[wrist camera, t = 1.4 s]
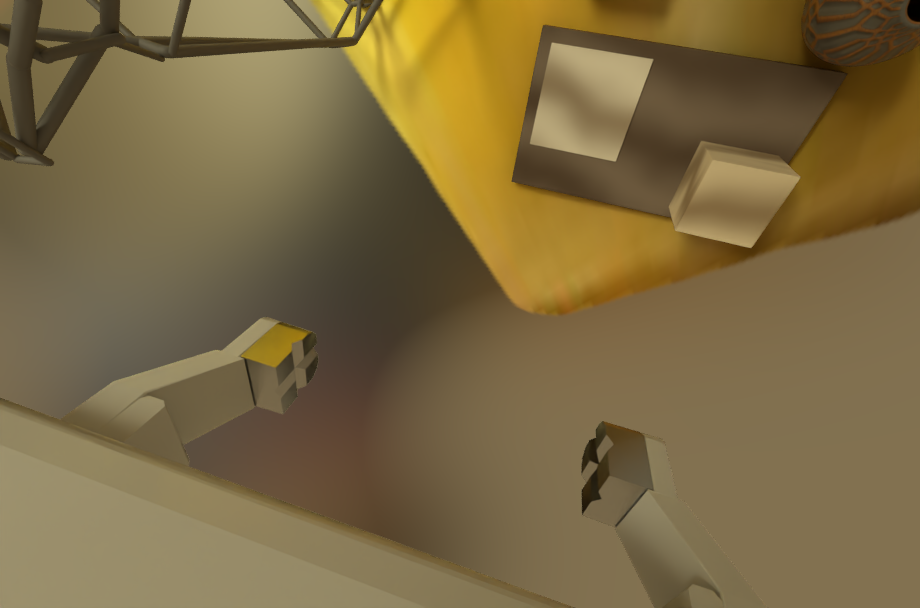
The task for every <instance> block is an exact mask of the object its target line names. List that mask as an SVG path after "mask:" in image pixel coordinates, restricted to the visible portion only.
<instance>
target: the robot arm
mask: <svg viewBox="0 0 920 608" xmlns="http://www.w3.org/2000/svg"><path fill="white" fill-rule="evenodd" d="M316 344H317V338H316V334H315V333H313V332H311V331H308V330H304V329H302V328H299V327H296V326H293V325H290V324H287V323H284V322H280V321H277V320H274V319H271V318H268V317H264V318H261V319H259V320H258V321H257V322H256V323H254V324H253V325H252V326H251V327H250V328H249V329H247V330H246V331H245V332H244V333H243V334H241V335H240V336H239V337H238V338H237V339H235V340H234V341H233V342H232V343H231V344H229V345H228V346H227V347H226V348H225V349H224V350H222V351H219V350H214V351H211V352H207V353H204V354H201V355H198V356H195V357H191V358H188V359H185V360H181V361H178V362H175V363H172V364H168V365H165V366H162V367H159V368H155V369H152V370H149V371H146V372H143V373H139V374H136V375H133V376H130V377H127V378H123V379H120V380H117V381H113V382H112V383H111V384H109V385H108V386H106V387H105V388H104V389H102V390H101V391H99V392H98V393H97V394H95V395H94V396H92V397H91V398H90V399H88V400H87V401H85V402H84V403H83V404H81V405H80V406H78V407H77V408H75V409H74V410H73V411H71V412H70V413H68V414H67V415H66V416H64V417H63V418H61V419H57V418H54V417H51V416H49V415H46V414H43V413H41V412H38V411H35V410H33V409H30V408H27V407H24V406H22V405H19V404H16V403H13V402H11V401H8V400H5V399H3V398H0V608H574V607H571V606H568V605H566V604H563V603H560V602H558V601H555V600H552V599H550V598H547V597H544V596H541V595H538V594H536V593H533V592H530V591H528V590H525V589H522V588H520V587H517V586H514V585H511V584H508V583H506V582H503V581H500V580H498V579H495V578H492V577H490V576H487V575H484V574H481V573H479V572H476V571H473V570H470V569H468V568H465V567H462V566H460V565H457V564H454V563H451V562H448V561H446V560H443V559H440V558H437V557H435V556H432V555H430V554H427V553H424V552H421V551H419V550H416V549H413V548H410V547H408V546H405V545H402V544H399V543H397V542H394V541H391V540H389V539H386V538H383V537H380V536H378V535H375V534H372V533H369V532H367V531H364V530H361V529H358V528H356V527H353V526H350V525H347V524H344V523H342V522H339V521H336V520H334V519H331V518H328V517H325V516H323V515H320V514H317V513H314V512H312V511H309V510H306V509H303V508H301V507H298V506H295V505H293V504H290V503H287V502H284V501H282V500H279V499H276V498H274V497H271V496H268V495H265V494H263V493H260V492H257V491H254V490H252V489H249V488H246V487H243V486H241V485H238V484H235V483H232V482H230V481H227V480H224V479H221V478H219V477H216V476H213V475H211V474H208V473H205V472H202V471H199V470H197V469H194V468H191V467H189V466H188V465H189V457H188V455H187V453H186V450H185V448H184V446H183V445H184V444H186V443H188V442H190V441H192V440H194V439H196V438H198V437H200V436H202V435H203V434H205V433H207V432H209V431H211V430H213V429H214V428H217V427H219V426H220V425H222V424H224V423H226V422H228V421H230V420H232V419H234V418H236V417H237V416H239V415H241V414H243V413H245V412H247V411H249V410H250V409H253V408H254V407H255V406H258V407H261V408H264V409H267V410H271V411H274V412H277V413H280V414H284V413H285V411H286V410H287V409H288V408H289V406H290V405H291V404H292V403H293V401H294V400H295V399H296V398H297V397H298V396H297V389H299V388H301V387H304V386H306V385H307V384H308V383H309V382H310V380H311V379H312V378H313V376H314V373H315V371H316V369H317V365H318V354H317V353H316V351H315V350H314V348H313V347H314V346H315V345H316ZM581 467H582V468H581V469H582V471H581V473H582V476H583V478H584V480H585V481H586V484H585V486H584V487H583V489H582V515H583V516H585V517H588V518H591V519H594V520H596V521H599V522H602V523H605V524H608V525H610V526H613V527H616V528H615V530H616V532H617V534H618V536H619V538H620V540H621V542H622V544H623V546H624V548H625V550H626V552H627V554H628V556H629V558H630V560H631V562H632V564H633V566H634V568H635V570H636V572H637V574H638V576H639V578H640V580H641V582H642V584H643V586H644V588H645V590H646V592H647V594H648V596H649V598H650V600H651V602H652V604H653V606H654V608H768V607H767V606H766V605H765V604H764V602H763V601H762V600H761V599H760V597H759V596H758V595H757V593H756V592H755V591H754V590H753V588H752V587H751V586H750V585H749V583H748V582H747V581H746V579H745V578H744V577H743V576H742V574H741V573H740V572H739V571H738V569H737V568H736V567H735V565H734V564H733V563H732V562H731V560H730V559H729V558H728V556H727V555H726V554H725V553H724V551H723V550H722V549H721V548H720V546H719V545H718V544H717V542H716V541H715V540H714V539H713V537H712V536H711V535H710V533H709V532H708V531H707V530H706V528H705V527H704V526H703V524H702V523H701V522H700V521H699V519H698V518H697V517H696V516H695V514H694V513H693V512H692V511H691V509H690V508H689V507H688V505H687V504H686V503H685V502H684V501H683V500H680V499H678V497H677V493H676V489H675V485H674V480H673V476H672V471H671V467H670V463H669V458H668V454H667V450H666V446H665V442H664V441H663V440H662V439H661V438H657V437H654V436H650V435H647V434H644V433H640V432H638V431H634V430H631V429H628V428H624V427H621V426H617V425H614V424H611V423H607V422H604V421H602V422H601V423H600V424H599V425H598V427H597V428H596V438H594V439H591V440H589V442H588V444H587V446H586V448H585V450H584V454H583V457H582V466H581Z"/></svg>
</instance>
